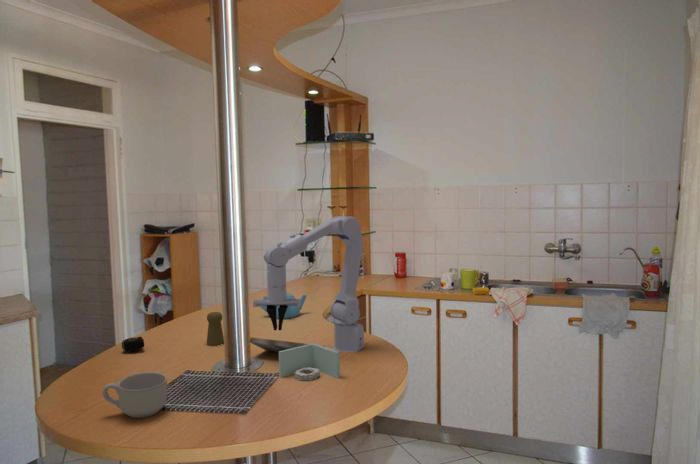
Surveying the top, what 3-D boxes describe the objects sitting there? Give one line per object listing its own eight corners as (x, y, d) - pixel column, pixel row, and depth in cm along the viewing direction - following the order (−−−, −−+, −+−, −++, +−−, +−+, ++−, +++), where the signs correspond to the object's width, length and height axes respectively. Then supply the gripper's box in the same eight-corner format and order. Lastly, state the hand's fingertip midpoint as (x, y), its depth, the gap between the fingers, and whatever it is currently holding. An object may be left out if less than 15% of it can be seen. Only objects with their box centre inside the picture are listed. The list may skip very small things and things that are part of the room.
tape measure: (145, 349, 169) (143, 338, 168) (122, 354, 166) (121, 343, 166) (144, 345, 175) (143, 334, 175) (122, 350, 172) (121, 339, 172)
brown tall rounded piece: (226, 341, 180) (225, 310, 180) (220, 346, 174) (219, 314, 174) (210, 341, 181) (209, 310, 180) (203, 346, 175) (202, 314, 174)
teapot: (279, 310, 230) (278, 286, 230) (308, 313, 224) (307, 289, 223) (258, 318, 217) (257, 292, 216) (288, 321, 210) (287, 295, 209)
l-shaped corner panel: (279, 378, 143) (278, 351, 142) (313, 368, 151) (313, 343, 150) (304, 389, 134) (303, 361, 133) (340, 378, 142) (339, 352, 141)
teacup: (174, 403, 126) (173, 371, 125) (159, 422, 115) (157, 387, 114) (116, 404, 125) (115, 372, 125) (96, 424, 114) (94, 388, 114)
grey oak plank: (313, 356, 161) (314, 351, 162) (299, 348, 153) (300, 343, 153) (265, 350, 168) (266, 345, 169) (249, 342, 160) (250, 337, 161)
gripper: (301, 283, 161) (302, 326, 162) (255, 283, 162) (256, 326, 163) (299, 287, 154) (300, 331, 155) (251, 287, 155) (252, 332, 155)
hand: (277, 329), depth 158 cm, fingers closed
